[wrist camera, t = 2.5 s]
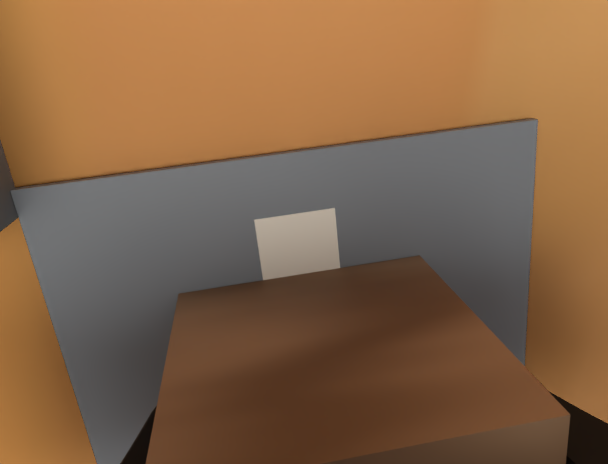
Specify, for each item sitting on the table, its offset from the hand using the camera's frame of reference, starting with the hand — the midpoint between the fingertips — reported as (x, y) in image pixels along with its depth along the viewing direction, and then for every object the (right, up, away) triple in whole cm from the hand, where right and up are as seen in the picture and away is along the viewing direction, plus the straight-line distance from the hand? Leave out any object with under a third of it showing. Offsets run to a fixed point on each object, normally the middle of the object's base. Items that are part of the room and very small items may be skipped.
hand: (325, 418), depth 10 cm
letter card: (0, +1, +2) cm, 2 cm away
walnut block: (0, 0, +1) cm, 1 cm away
